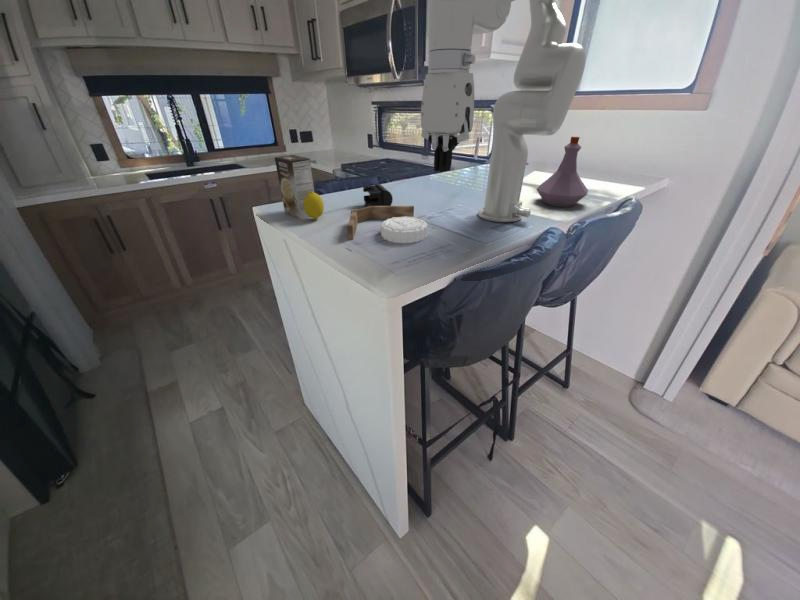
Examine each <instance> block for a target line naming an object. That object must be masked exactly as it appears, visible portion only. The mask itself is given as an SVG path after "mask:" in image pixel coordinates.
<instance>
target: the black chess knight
mask: <svg viewBox="0 0 800 600" xmlns="http://www.w3.org/2000/svg"><path fill="white" fill-rule="evenodd" d="M362 189H363V192H364V193H368V194H369V195H363V201H364V206H365V207H368V206H392V204H393V200H394V199H393V194H392V193H391V192H390V191H389V190H388V189H387V188H385V187H384V186H383V185H382V184H380V183H379V182H375V183H374V185H373V184H372V185H364V186H362Z"/></svg>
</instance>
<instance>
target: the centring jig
mask: <svg viewBox="0 0 800 600" xmlns="http://www.w3.org/2000/svg"><path fill="white" fill-rule="evenodd" d="M350 212H351V215H350V217H349V220H348V223H347V236H348V237H347V238H348V240H354V238H355V235H356V231H357V227H358V225H359V224H361V223H363V222H367V221H370V220H387V219H390V218H393V217H405V216H407V217H414V218H415V216H414V215H415V214H414V213H415V206H414V205H391V206H368V207H366V206H365V207H361V208H357V209H354V210H351V211H350Z"/></svg>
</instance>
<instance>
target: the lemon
mask: <svg viewBox="0 0 800 600" xmlns="http://www.w3.org/2000/svg"><path fill="white" fill-rule="evenodd" d="M304 209H305V212H306V214H307V215H308V216H310V218H312V219H314V220H318V219H319V218H320V217H321V216H322V215H323V213H324V212H325V205H324V200H323V199H322V197H321V196H320V195H319V194H318V193H316V192H315V191H314V192H310V193H309V194H307V195H306V196H305V198H304Z"/></svg>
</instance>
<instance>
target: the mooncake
mask: <svg viewBox="0 0 800 600" xmlns="http://www.w3.org/2000/svg"><path fill="white" fill-rule="evenodd" d="M428 227H429V226H428V224H427V222H426V221H425V220H423V219H421V218H417V217H415V216H414V217H407V216H405V217H393V218H390V219H385V220H384V221H382V222H381V224H380V235H381V238H383V240H385V241H388V242H392V243H395V244H413V243H419V242H420V241H424V239H427V236H428Z"/></svg>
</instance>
